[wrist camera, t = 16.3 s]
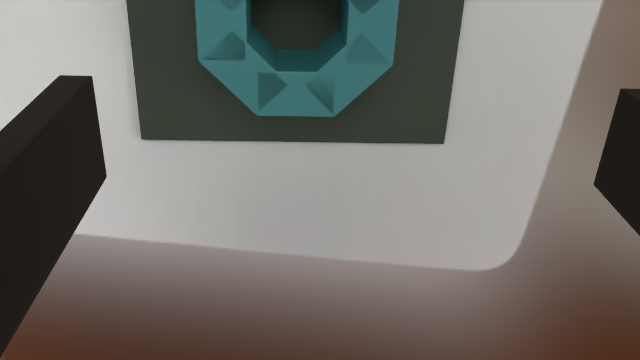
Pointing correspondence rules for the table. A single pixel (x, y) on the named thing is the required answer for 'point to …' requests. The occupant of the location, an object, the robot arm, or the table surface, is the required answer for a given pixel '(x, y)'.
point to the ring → (296, 58)
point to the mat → (293, 34)
